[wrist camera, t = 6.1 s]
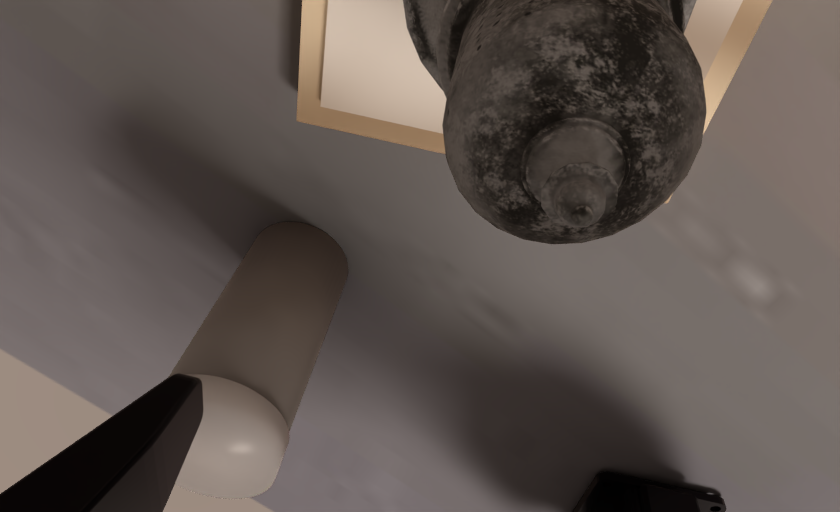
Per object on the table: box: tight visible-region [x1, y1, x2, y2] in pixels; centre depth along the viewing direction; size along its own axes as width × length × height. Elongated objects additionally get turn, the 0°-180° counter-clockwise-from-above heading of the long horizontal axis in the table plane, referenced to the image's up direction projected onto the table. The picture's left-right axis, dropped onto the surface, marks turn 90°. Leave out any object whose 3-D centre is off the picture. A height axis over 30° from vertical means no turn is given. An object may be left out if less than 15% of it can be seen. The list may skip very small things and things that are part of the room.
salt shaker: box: [403, 0, 706, 244], centre depth 10 cm, size 6×6×12 cm
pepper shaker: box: [168, 222, 348, 499], centre depth 20 cm, size 4×4×9 cm
